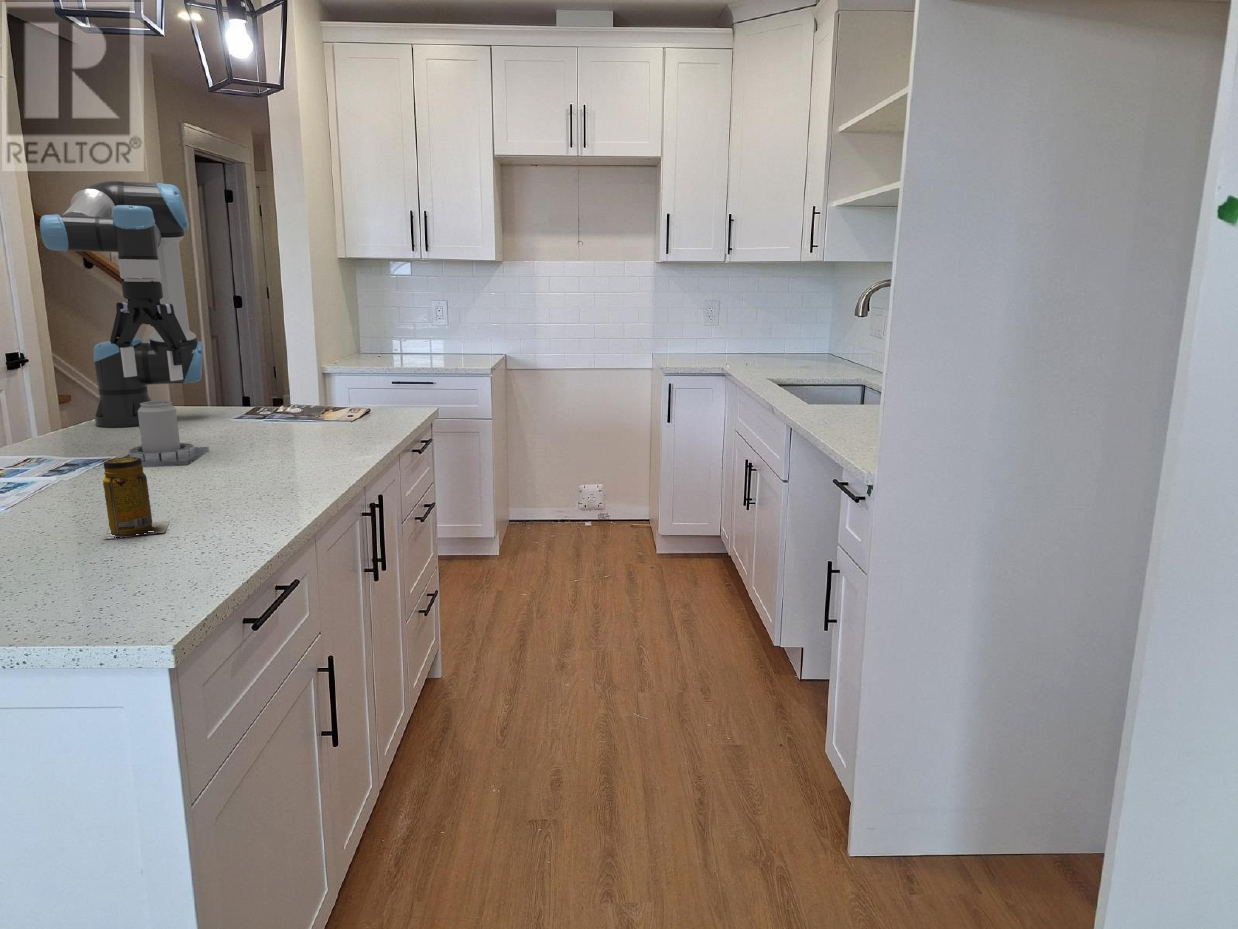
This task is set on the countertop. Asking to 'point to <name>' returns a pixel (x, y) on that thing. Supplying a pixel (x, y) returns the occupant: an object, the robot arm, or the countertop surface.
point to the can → (158, 426)
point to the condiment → (128, 499)
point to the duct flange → (169, 455)
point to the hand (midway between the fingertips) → (153, 378)
